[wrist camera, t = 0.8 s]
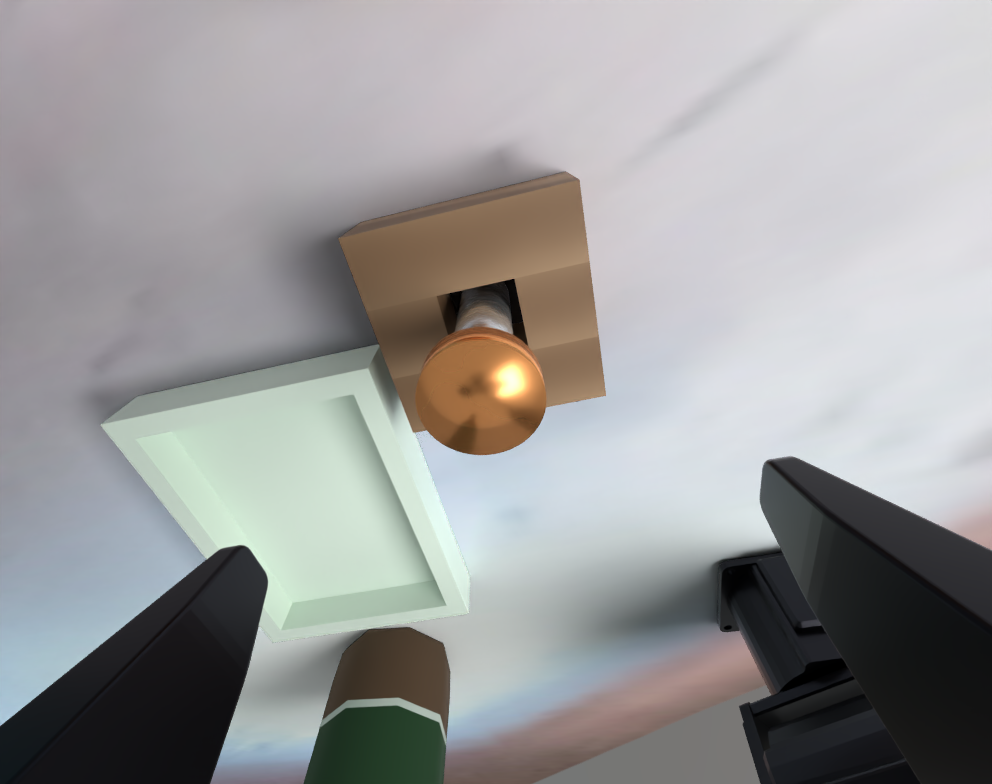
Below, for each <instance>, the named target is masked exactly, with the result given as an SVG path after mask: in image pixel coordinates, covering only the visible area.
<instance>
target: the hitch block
mask: <svg viewBox="0 0 992 784" xmlns="http://www.w3.org/2000/svg"><path fill="white" fill-rule="evenodd" d="M338 240H339V242H340V245H341V247H342V250H343V253H344V255H345V258H346V260H347V263H348V265H349V268H350V271H351V273H352V276H353V278H354V281H355V284H356V286H357V289H358V291H359V294H360V297H361V299H362V302H363V304H364V307H365V310H366V312H367V315H368V317H369V320H370V323H371V325H372V328H373V330H374V333H375V336H376V338H377V341H378V343H379V346H380V349H381V351H382V354H383V356H384V359H385V361H386V364H387V367H388V369H389V372H390V374H391V377H392V380H393V382H394V385H395V387H396V390H397V393H398V395H399V398H400V400H401V403H402V406H403V408H404V411H405V413H406V416H407V419H408V421H409V424H410V426H411V429H412V432H413V433H415V432H420V431H425V430H426V428H425V427H424V425H423V424H422V422H421V420H420V418H419V416H418V413H417V409H416V403H415V393H416V387H417V383H418V380H419V376H420V373H421V370H422V366H423V364H424V361H425V359H426V357H427V355H428V354H429V352H430V351H431V349H432V348H433V347H434V346H435V345H436V344H437V343H438V342H439V341H441V340H442V339H443V338H445V337H446V336H448V335H450V334H452V333H454V332H455V328H456V323H457V316H456V313H455V309H454V306H453V302H452V299H451V295H450V293H452V292H457V291H461V290H466V289H470V288H475V287H479V286H484V285H488V284H492V283H497V282H501V281H506V280H510V279H515V284H516V289H517V294H518V298H519V303H520V308H521V313H522V318H523V322H520V323H515V324H512V329H513V335H514V336H516V337H517V338H519V339H520V340H522V341H523V342H524V343H525V344H526V345H527V346H528V347H529V348H530V349H531V350H532V351H533V353H534V354H535V356H536V357H537V359H538V362H539V364H540V367H541V370H542V375H543V380H544V385H545V390H546V407H550V406H555V405H560V404H565V403H570V402H575V401H581V400H586V399H591V398H596V397H601V396H606V391H605V383H604V375H603V367H602V359H601V351H600V343H599V335H598V327H597V319H596V310H595V302H594V294H593V286H592V278H591V270H590V262H589V254H588V246H587V238H586V230H585V222H584V213H583V205H582V197H581V189H580V181H579V179H577V178H576V177H574V176H572V175H571V174H569V173H567V172H563V173H559V174H554V175H550V176H546V177H542V178H538V179H534V180H530V181H526V182H522V183H518V184H514V185H510V186H506V187H502V188H498V189H494V190H490V191H486V192H482V193H477V194H473V195H469V196H465V197H461V198H457V199H453V200H449V201H445V202H441V203H437V204H433V205H429V206H425V207H421V208H417V209H413V210H409V211H405V212H400V213H396V214H392V215H388V216H384V217H380V218H376V219H372V220H368V221H364V222H360V223H359V224H358V225H356V226H355V227H354V228H352V229H351V230H349V231H348V232H347V233H345V234H344V235H342V236H341V237H340V238H338Z"/></svg>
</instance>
